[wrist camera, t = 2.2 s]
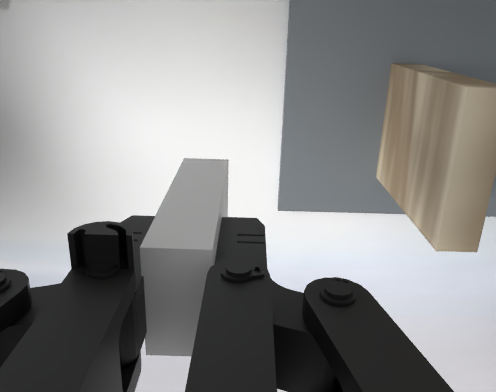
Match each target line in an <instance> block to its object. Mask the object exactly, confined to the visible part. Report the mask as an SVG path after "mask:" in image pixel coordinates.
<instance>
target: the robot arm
mask: <svg viewBox="0 0 496 392" xmlns="http://www.w3.org/2000/svg"><path fill="white" fill-rule="evenodd" d="M227 214H228V160H221V159H190V158H184V160H183V162H182V164H181V166H180V168H179V170H178V172H177V174H176V176H175V178H174V180H173V182H172V184H171V186H170V188H169V190H168V192H167V194H166V196H165V198H164V200H163V202H162V204H161V206H160V208H159V210H158V212H157V214H156V216H131V217H129V218H127V219H126V220H124V221H122V222H121V223H118V222H110V221H107V222H94V223H89V224H84V225H82V226H79V227H77V228H74V229H73V230H72V231H70V232H69V233H68V242H69V251H70V259H71V267H72V269H71V271H70V272H69V273H68V275H67V276H66V278H65V279H64V280H63V282H62V283H60V284H55V285H49V286H42V287H35V288H30V285H29V278H28V277H27V276H26V274H25V273H23V272H21V271H18V270H11V269H0V392H134V391H135V388H136V385H137V382H138V379H139V376H140V372H141V352H140V350H141V347H142V344H143V341H144V338H145V343H146V355H168V356H192V357H191V363H190V368H189V373H188V379H187V384H186V389H185V392H277V389H280V390H284V391H287V392H454V391H453V390H452V389H451V388H450V386H449V385H448V384H447V383H446V382H445V381H444V379H443V378H442V377H441V376H440V375H439V374H438V372H437V371H436V370H435V369H434V368H433V367H432V365H431V364H430V363H429V362H428V361H427V359H426V358H425V357H424V356H423V355H422V354H421V352H420V351H419V350H418V349H417V348H416V347H415V345H414V344H413V343H412V342H411V341H410V340H409V338H408V337H407V336H406V335H405V334H404V333H403V331H402V330H401V329H400V328H399V327H398V325H397V324H396V323H395V322H394V321H393V320H392V318H391V317H390V316H389V315H388V314H387V313H386V311H385V310H384V309H383V308H382V307H381V306H380V304H379V303H378V302H377V301H376V300H375V299H374V297H373V296H372V295H371V294H370V293H369V292H368V291H367V290H366V289H365V288H363V287H362V286H361V285H359V284H357V283H354V282H352V281H350V280H347V279H341V278H336V277H334V278H322V279H317V280H314V281H312V282H311V283H309V284H308V285H307V286H306V288H305V290H304V293H302V292H297V291H293V290H290V289H286V288H284V287H282V286H280V285H278V284H277V283H275V282H274V281H273V280H272V279H271V278H270V274H269V272H268V269H267V258H266V240H265V226H264V225H263V224H262V223H261V222H260V221H259V220H258V219H257V218H237V217H227Z"/></svg>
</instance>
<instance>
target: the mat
mask: <svg viewBox="0 0 496 392" xmlns="http://www.w3.org/2000/svg"><path fill="white" fill-rule="evenodd" d="M391 63H395V64H423V65H427V66H430V67H434V68H438V69H442V70H446V71H449V72H453V73H457V74H461V75H465V76H468V77H472V78H476V79H480V80H483V81H487V82H491V83H495V84H496V0H290V6H289V23H288V40H287V57H286V75H285V92H284V109H283V126H282V144H281V161H280V178H279V195H278V211H310V212H347V213H385V214H406V213H405V212H404V211H403V210H402V209H401V207H400V206H399V205H398V204H397V202H396V201H395V200H394V199H393V198H392V196H391V195H390V194H389V193H388V191H387V190H386V189H385V188H384V186H383V185H382V184H381V183H380V182H379V180H378V179H377V178H376V173H377V165H378V158H379V151H380V144H381V136H382V129H383V122H384V114H385V107H386V100H387V93H388V85H389V78H390V71H391ZM486 216H496V174H495V178H494V182H493V186H492V191H491V195H490V199H489V203H488V208H487V212H486Z"/></svg>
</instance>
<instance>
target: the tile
mask: <svg viewBox="0 0 496 392" xmlns="http://www.w3.org/2000/svg"><path fill="white" fill-rule="evenodd" d="M495 174H496V84H495V83H491V82H487V81H483V80H480V79H476V78H472V77H468V76H465V75H461V74H457V73H453V72H449V71H446V70H442V69H438V68H434V67H430V66H427V65H423V64H395V63H391V71H390V78H389V85H388V93H387V100H386V107H385V114H384V122H383V129H382V136H381V144H380V151H379V158H378V165H377V173H376V178H377V179H378V180H379V182H380V183H381V184H382V185H383V186H384V188H385V189H386V190H387V191H388V193H389V194H390V195H391V196H392V198H393V199H394V200H395V201H396V202H397V204H398V205H399V206H400V207H401V209H402V210H403V211H404V212H405V213H406V215H407V216H408V217H409V218H410V220H411V221H412V222H413V223H414V225H415V226H416V227H417V228H418V229H419V231H420V232H421V233H422V234H423V236H424V237H425V238H426V239H427V240H428V242H429V243H430V244H431V245H432V247H433V248H434V249H435V250H436V251H457V252H477V250H478V246H479V242H480V237H481V233H482V229H483V225H484V220H485V216H486V212H487V208H488V203H489V199H490V195H491V191H492V186H493V182H494V178H495Z"/></svg>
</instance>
